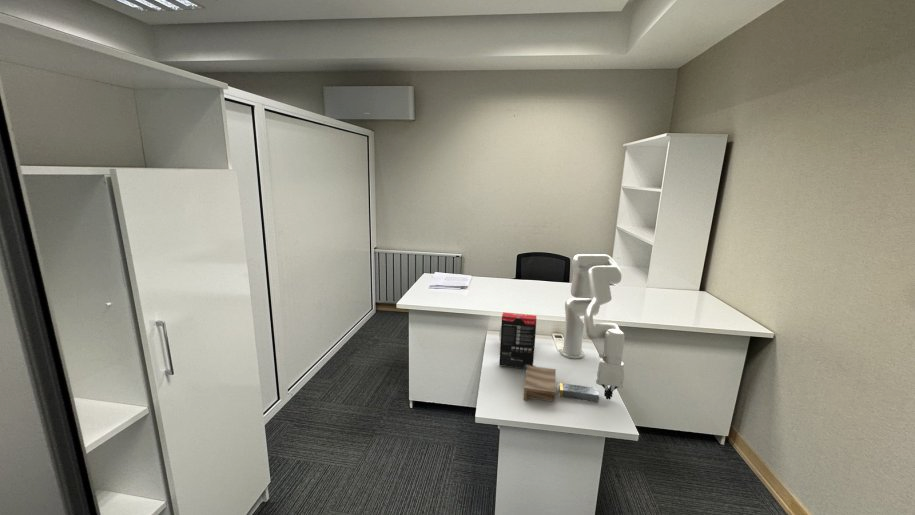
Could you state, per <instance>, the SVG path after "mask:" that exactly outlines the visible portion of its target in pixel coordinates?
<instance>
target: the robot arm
mask: <svg viewBox="0 0 915 515" xmlns="http://www.w3.org/2000/svg"><path fill="white" fill-rule="evenodd" d="M571 262H572V270H573V272H572V273H573V275H572V279H571V285H570V294H571V296H572V297H570V298H568V299H567V300H565V302H564V310H565V312H564V313H565V322H564V323H565V324H564V336H563V347H562V348H563V350H562V349H561V348H560V350H559V351H560V352H559V353H560V354H561V355H562V356H563V357H564V358H565V357H566V358H568V359H573V360H574V359H575V360H578V359H582V358H583V357H585V351H584V350H583V349H582V348H583V337H584V330H585V334H586V337H587V338H588V339H589V340H590V341H603V342H604V343H603V351H602V353H601V354H599V353H598V357H599V358H600V360H599V362H598V363H599V364H598V369H597V373H596V376H597V377H596V380H595V382H596V385H599V386H601V387H602V388H603V389H604V393H603V394H604V397H605V400H611V399H612V398H613V392H615V390H616V389H618V388H619V389H620V388H621V389H622V388H624V383H625V365H624V362H623V354H624V345H625V338H626V337H625V333H624V331H622V330H621V329H620V326H619V325H618V324H617V323H614V322H594V316H597V315H598V313H599V312H600V308H601V306H603V305H605V304H608V303H610V302H611V301H612V292H611V287H610V286H611V284H612V285H617V284H619V283H621V281H622V276H623V275H622V271H621V269H620V267H619V265H618V264H617V263H616V261H615V260H614V259H613V258H612V257H611V256H610V255H609V254H597V253H595V254H591V253H587V254H585V253H582V254H581V253H580V254H576V255H574V257H573V259H572V261H571ZM581 317H583V320H582V319H581Z"/></svg>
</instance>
